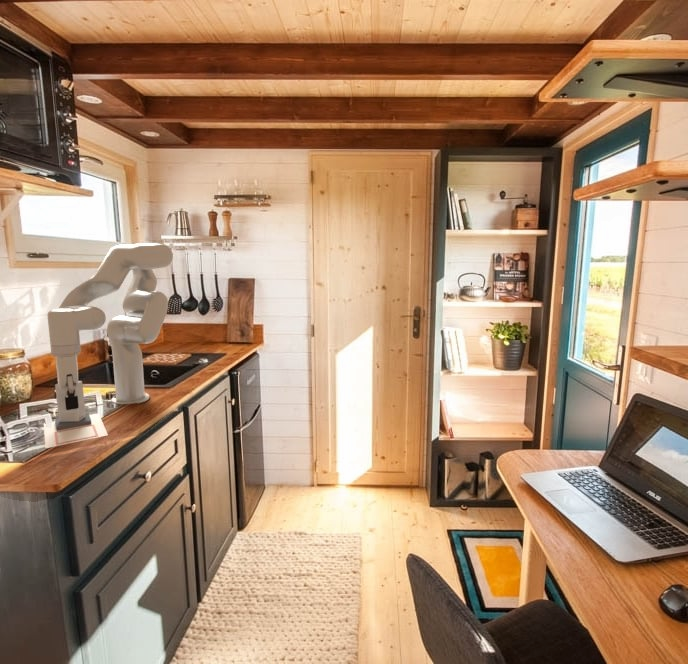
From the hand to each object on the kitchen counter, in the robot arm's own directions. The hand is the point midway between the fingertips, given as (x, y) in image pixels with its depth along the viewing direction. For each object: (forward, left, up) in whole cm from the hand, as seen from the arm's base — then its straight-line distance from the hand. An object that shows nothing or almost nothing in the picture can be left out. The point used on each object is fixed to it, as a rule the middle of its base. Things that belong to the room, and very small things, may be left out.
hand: (71, 405), depth 129 cm
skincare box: (0, 0, -5) cm, 5 cm away
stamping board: (+5, 0, -7) cm, 9 cm away
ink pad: (0, 0, -6) cm, 6 cm away
